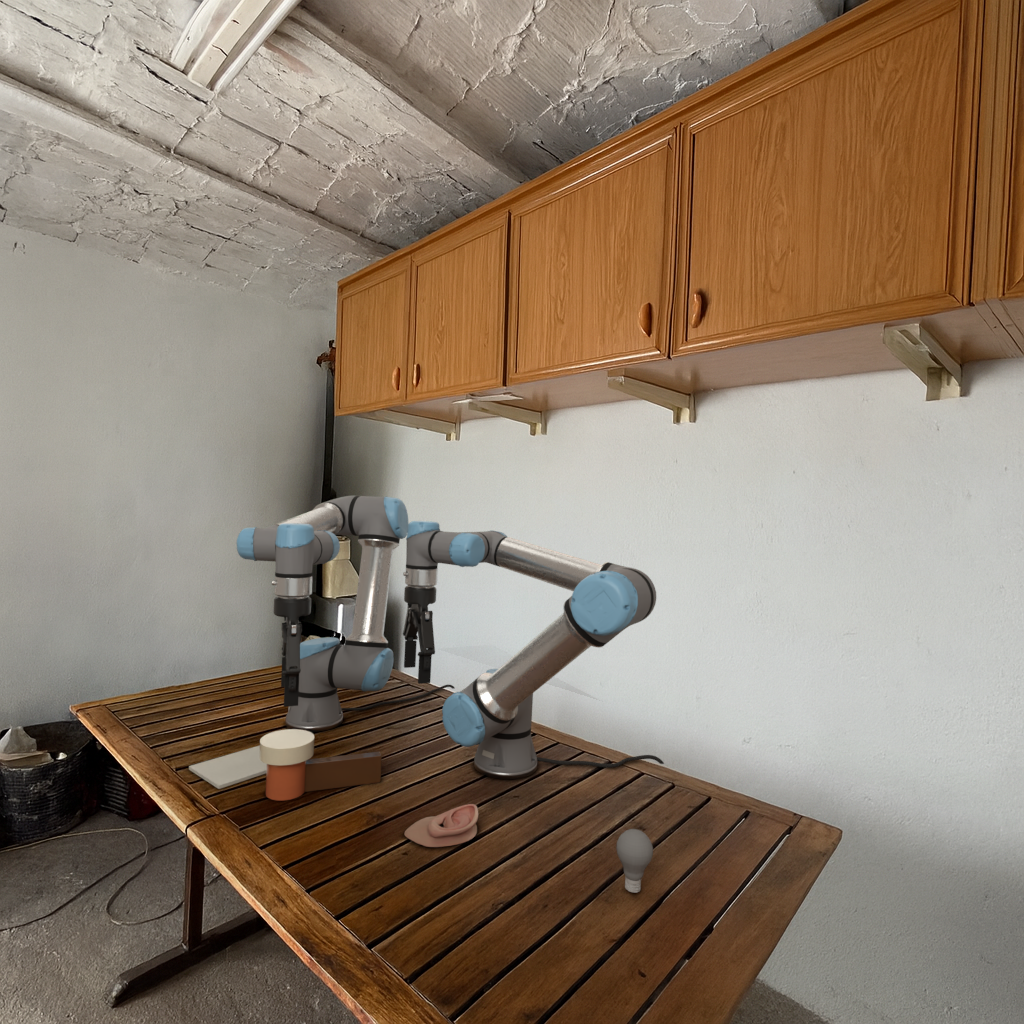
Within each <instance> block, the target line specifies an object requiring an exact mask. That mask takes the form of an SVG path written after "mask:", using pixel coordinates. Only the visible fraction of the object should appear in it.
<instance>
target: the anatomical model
mask: <svg viewBox="0 0 1024 1024" xmlns="http://www.w3.org/2000/svg"><path fill="white" fill-rule="evenodd" d="M478 820H479V809H478V806H477V805H476V804H475V803H468V804H463V805H460V806H456V807H454V808H451V809H449V810H447V811H444V812H442V813H440V814H438V815H435V816H432V815H431V816H426V817H423V818H421V819H419V820H417V821H416V822H414V823H413V824H411V825H410V826H408V828H407V829H406V830H405V831H404V836H405V837H406V838H407V839H408V840H410V841H412V842H414V843H415V844H418V845H421V846H423V847H427V848H442V847H451V846H456V845H461V844H464V843H466V842H469V841H471V840H472V839H473V838H474V837H476V835H477V833H478V825H477V822H478Z"/></svg>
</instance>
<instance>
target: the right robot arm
mask: <svg viewBox="0 0 1024 1024" xmlns="http://www.w3.org/2000/svg"><path fill="white" fill-rule="evenodd" d="M408 523H409V525H408V532H407V536H406V537H405V538H406V558H405V559H406V560H405V571H403V572H402V573H403V574H402V575H403V576H404V577H405V578H404V583H405V585H406V586H405V587H404V591H403V593H404V595H403V601H404V602H405V603H407V609H406V615H405V620H404V626H403V632H402V636H403V637H404V659H403V668H404V669H407V668H410V669H411V668H416V664H417V663H416V661H417V656H418V670H417V671H418V672H417V684H419V685H422V684H431V677H432V676H431V674H432V656H433V655H435V654H436V648H435V635H434V634H435V633H434V624H433V614H434V612H433V610H429V605H433V604H435V603H436V601H437V587H436V585H438V572H439V569H438V568H439V567H438V565H439V564H443V565H452V566H458V567H460V568H464V567H466V568H467V567H469V568H474V567H477V566H478V565H479V564H482V563H486V564H490V565H493V566H495V567H499V568H502V569H505V570H508V571H512V572H515V573H518V574H519V575H523V576H526V577H530V578H532V579H535V580H538V581H541V582H544V583H547V584H550V585H553V586H556V587H560V588H562V589H565V590H568V591H571V592H572V594H571V596H570V597H569V598H568V599H566V600H565V601H564V603H563V613H561V614H560V615H559V616H558V617H557V618H556V619H554V620H553V621H552V622H551V623H550V624H549V625H547V626H546V627H545V628H544V629H543V630H541V632H540V633H538V634H537V635H536V636H535V637H534V638H533V639H532V640H530V641H529V642H528V643H527V644H526V645H524V646H523V647H522V648H521V649H520V650H518V651H517V652H516V653H514V655H513V656H511V658H509V659H508V660H507V661H506V662H504V663H503V664H502V665H501V666H500V667H499V668H490V669H487V670H486V672H484V673H482V674H480V675H479V676H478V677H476V678H475V679H474V680H473V681H472V682H471V683H470V684H468V685H467V686H465V688H463V689H462V690H460V691H456V692H453V693H452V694H451V695H449V696H448V697H447V698H446V699H445V701H444V703H443V706H442V708H441V709H442V710H441V713H442V717H441V718H442V720H441V721H442V724H443V727H444V729H445V732H446V733H447V734H448V736H449V738H450V739H451V740H452V741H453V742H455V743H456V744H457V745H460V746H462V747H463V748H464V747H465V748H470V747H475V746H477V749H476V751H475V753H474V759H473V762H474V763H473V766H474V767H473V768H475V770H476V771H477V772H479V773H480V774H481V775H484V776H486V777H490V778H493V779H498V780H499V779H500V780H515V779H516V780H518V779H523V778H526V777H529V776H531V775H533V774H535V773H536V771H537V769H538V762H540V763H547V764H553V765H560V766H574V765H575V766H590V767H597V768H604V769H611V768H612V769H613V768H618V767H621V766H623V765H624V764H626V763H628V762H634V761H640V760H654V761H656V762H657V763H659V764H660V765H664V764H665V763H664V760H662V759H661V758H660V757H658V756H656V755H653V754H642V755H636V756H629V757H626V758H623V759H620V761H618V762H614V763H604V762H603V763H602V762H596V761H588V760H559V759H558V760H557V759H552V758H546V757H539V756H537V753H536V749H535V745H534V741H533V737H532V723H533V722H532V721H533V701H534V693H535V692H536V691H538V690H539V689H540V688H541V687H543V686H544V685H545V684H547V682H549V681H550V680H551V679H552V678H554V677H555V676H556V675H558V674H559V673H560V672H561V671H563V669H565V668H566V667H567V666H569V664H571V663H572V662H573V661H575V660H576V659H577V658H578V657H580V656H581V655H582V654H583V653H584V652H586V651H587V650H588V649H590V648H591V647H593V648H603V647H604V646H606V645H607V644H608V643H609V642H610V641H612V640H613V639H614V638H615V637H617V636H618V635H619V634H621V633H622V632H623V631H624V630H625V629H627V628H629V627H631V626H633V625H635V624H638V623H641V622H642V621H644V620H646V619H647V618H648V617H649V616H650V615H651V614H652V612H654V608H655V606H656V603H657V590H656V587H655V584H654V582H653V580H652V579H651V577H649V576H648V575H647V574H646V573H645V572H644V571H642V570H640V569H637V568H634V567H629V566H625V565H620V564H616V563H612V562H610V561H605V562H604V563H602V564H600V563H596V562H593V561H590V560H587V559H584V558H583V559H582V558H579V557H577V556H573V555H570V554H566V553H563V552H559V551H556V550H554V549H549V548H548V547H547V548H546V547H542V546H540V545H536V544H533V543H531V542H530V543H529V542H526V541H523V540H520V539H517V538H513V537H510V536H507V535H506V533H505V532H502V531H498V530H497V531H496V530H487V531H486V530H485V531H484V530H483V531H461V532H460V531H459V532H458V531H444V530H441V528H440V523H439V522H438V521H429V520H412V521H411V520H410V522H408ZM417 641H418V642H417ZM417 643H419V651H418V652H417Z"/></svg>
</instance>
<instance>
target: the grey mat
mask: <svg viewBox="0 0 1024 1024" xmlns="http://www.w3.org/2000/svg"><path fill="white" fill-rule="evenodd" d="M259 751H260V744H259V745H257V746H253V747H249V748H247V749H243V750H239V751H235V752H232V753H229V754H226V755H223V756H219V757H216V758H212V759H209V760H204V761H202V762H198V763H196V764H191V765H189V766H188V770H189V771H190V772H191V773H193V774H194V775H197V776H198V777H199V778H201V779H202V780H204V781H205V782H208V783H209V784H210V785H212V786H213V787H214V788H216V789H218V790H221V789H224V788H226V787H230V786H232V785H236V784H238V783H239V784H240V783H242V782H245V781H248V780H251V779H254V778H257V777H259V776H264V775H266V768H267V764H266V763H263V762H262V761H261V760H260V759H259Z"/></svg>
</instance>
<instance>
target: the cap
mask: <svg viewBox="0 0 1024 1024" xmlns="http://www.w3.org/2000/svg"><path fill="white" fill-rule="evenodd" d="M259 745H260V751H259V759H260V760H261V761H262V762H263V763H266V764H269V765H279V766H282V765H292V764H297V763H301V762H304V761H306V760H308V759H312V757H313V756H314V754H315V734H314V732H309V731H306V730H299V729H289V728H287V729H282V730H281V729H279V730H275V731H272V732H269V733H267V734H265V735H263V736H262V737H260V739H259Z"/></svg>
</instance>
